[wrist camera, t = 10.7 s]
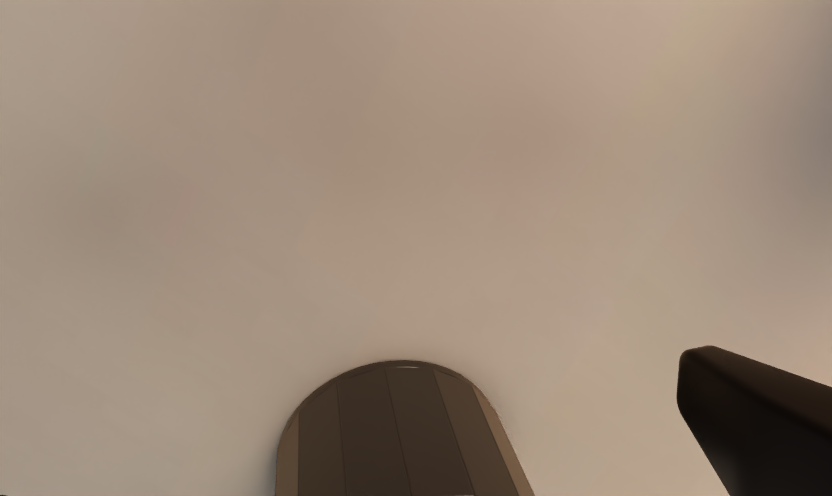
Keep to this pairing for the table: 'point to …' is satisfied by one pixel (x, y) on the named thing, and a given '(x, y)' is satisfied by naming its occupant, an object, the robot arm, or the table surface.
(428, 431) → the pen holder
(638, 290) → the table surface
